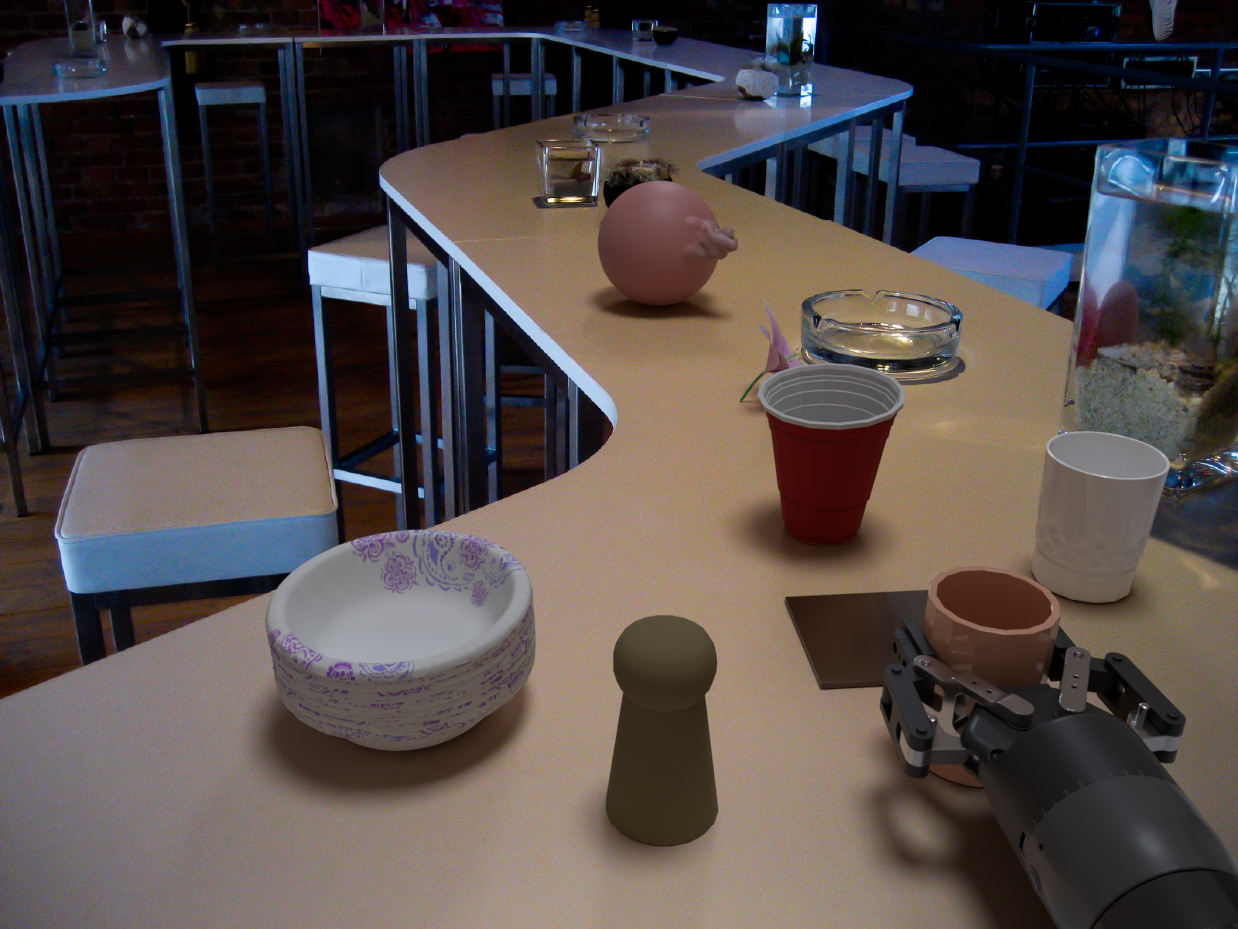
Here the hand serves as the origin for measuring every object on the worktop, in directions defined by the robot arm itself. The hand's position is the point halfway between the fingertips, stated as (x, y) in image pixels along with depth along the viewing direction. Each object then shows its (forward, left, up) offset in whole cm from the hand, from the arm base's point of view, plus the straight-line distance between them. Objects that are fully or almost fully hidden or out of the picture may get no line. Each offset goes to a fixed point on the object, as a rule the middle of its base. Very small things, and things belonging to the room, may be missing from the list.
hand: (968, 629), depth 61 cm
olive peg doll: (+18, +5, -7) cm, 20 cm away
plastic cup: (+2, -24, -7) cm, 25 cm away
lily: (-1, -50, -7) cm, 50 cm away
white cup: (-15, -15, -7) cm, 22 cm away
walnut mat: (0, -9, -7) cm, 11 cm away
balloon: (+6, -83, -7) cm, 83 cm away
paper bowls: (+32, -5, -7) cm, 33 cm away
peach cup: (0, +2, -7) cm, 7 cm away
